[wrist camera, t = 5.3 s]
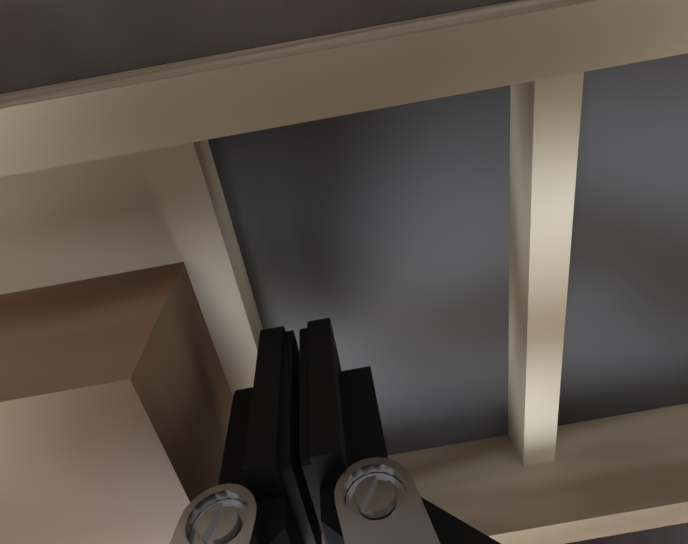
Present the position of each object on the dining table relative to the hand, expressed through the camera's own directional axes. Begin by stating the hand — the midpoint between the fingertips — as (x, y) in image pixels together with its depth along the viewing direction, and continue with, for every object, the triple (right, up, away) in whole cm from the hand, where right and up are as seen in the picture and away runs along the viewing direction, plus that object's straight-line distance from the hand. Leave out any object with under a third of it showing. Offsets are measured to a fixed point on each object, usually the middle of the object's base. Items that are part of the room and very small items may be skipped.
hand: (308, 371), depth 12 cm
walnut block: (-5, 0, +1) cm, 5 cm away
